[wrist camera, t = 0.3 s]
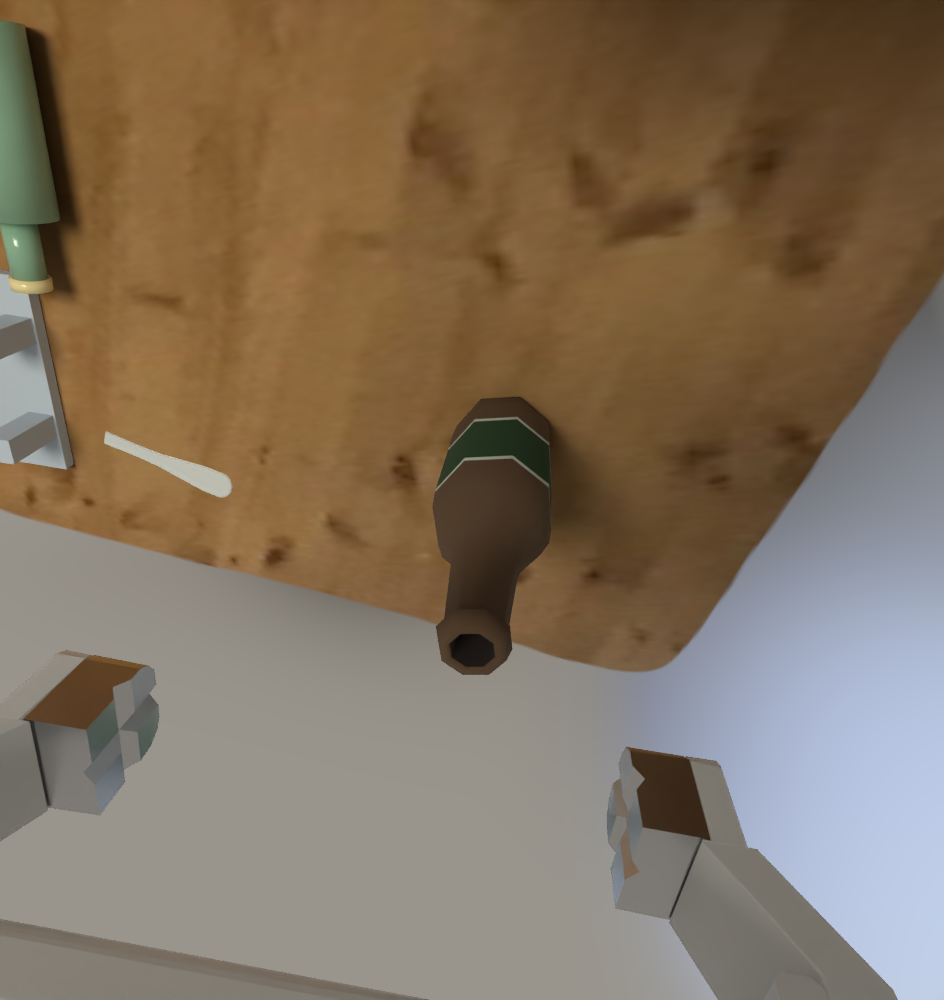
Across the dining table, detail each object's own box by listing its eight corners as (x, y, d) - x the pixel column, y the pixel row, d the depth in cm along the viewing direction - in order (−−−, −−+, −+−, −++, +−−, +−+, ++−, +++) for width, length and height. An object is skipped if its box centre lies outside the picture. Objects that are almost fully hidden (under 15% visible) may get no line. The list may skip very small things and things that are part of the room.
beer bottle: (470, 378, 49) (411, 565, 28) (568, 409, 49) (581, 616, 28) (443, 465, 52) (374, 685, 32) (534, 493, 53) (524, 729, 32)
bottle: (-34, 16, 40) (-104, 3, 36) (44, 28, 40) (-17, 16, 36) (23, 276, 48) (-29, 291, 44) (88, 287, 48) (43, 302, 44)
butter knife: (228, 504, 57) (235, 478, 55) (-47, 390, 54) (-47, 359, 52) (230, 502, 57) (237, 476, 56) (-43, 389, 54) (-43, 358, 53)
